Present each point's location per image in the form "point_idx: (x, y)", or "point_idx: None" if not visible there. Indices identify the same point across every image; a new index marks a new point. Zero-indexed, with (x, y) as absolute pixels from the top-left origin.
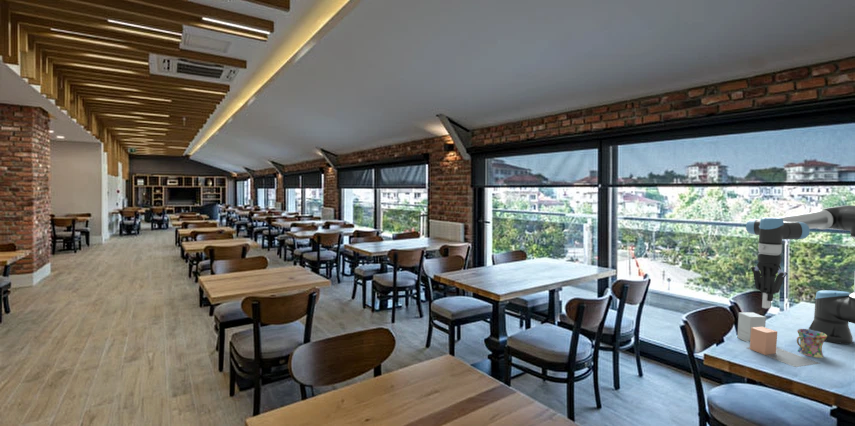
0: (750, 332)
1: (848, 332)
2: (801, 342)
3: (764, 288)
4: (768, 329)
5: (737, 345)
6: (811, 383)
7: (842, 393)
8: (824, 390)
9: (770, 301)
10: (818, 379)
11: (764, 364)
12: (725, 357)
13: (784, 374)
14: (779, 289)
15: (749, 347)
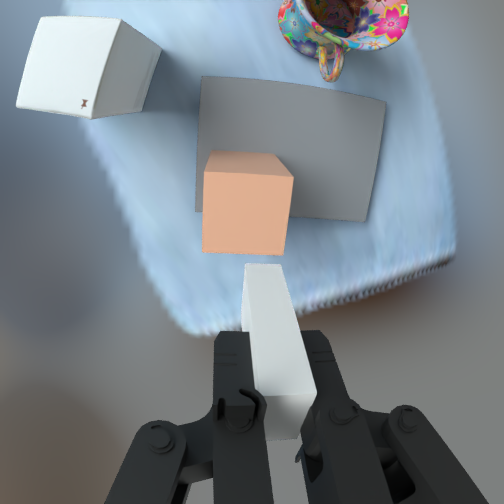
0: (126, 111)
1: None
2: (314, 33)
3: (224, 457)
4: (253, 188)
5: (145, 181)
6: (406, 261)
7: (450, 248)
8: (428, 270)
9: (291, 310)
10: (409, 218)
11: (296, 259)
12: (219, 317)
13: (355, 272)
14: (443, 449)
15: (197, 194)
